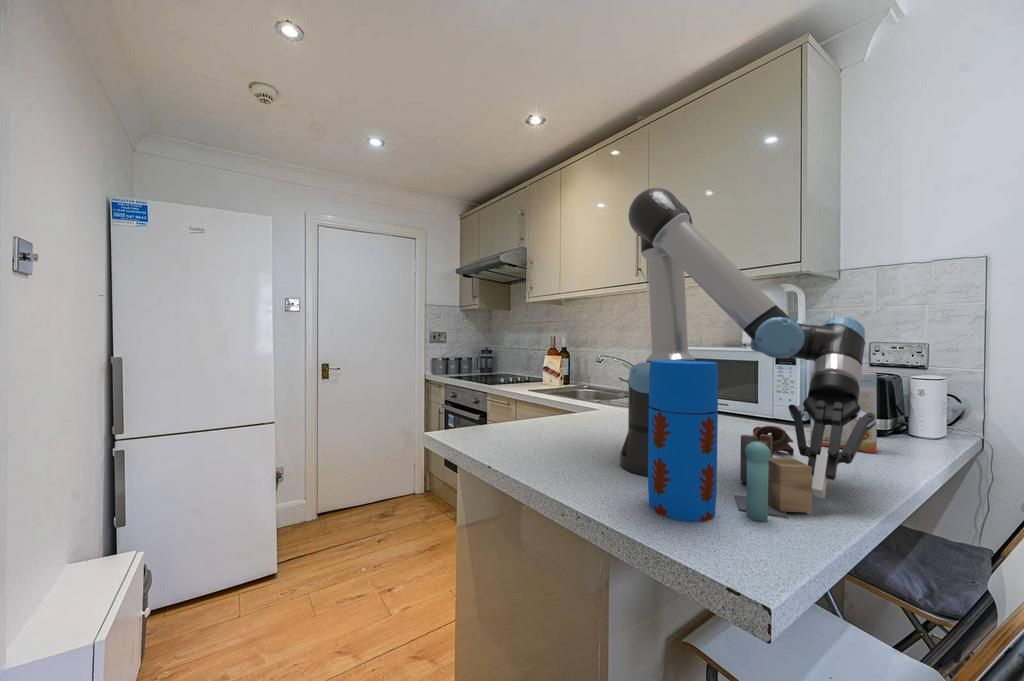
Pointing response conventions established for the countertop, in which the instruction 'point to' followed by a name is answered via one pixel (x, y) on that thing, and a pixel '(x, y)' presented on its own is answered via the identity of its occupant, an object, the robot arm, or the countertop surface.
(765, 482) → the post
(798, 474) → the wooden u-shaped block
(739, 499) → the pad
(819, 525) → the countertop surface
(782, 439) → the pottery mug
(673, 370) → the thermos
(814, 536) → the countertop surface
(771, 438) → the fence
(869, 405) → the cracker box
